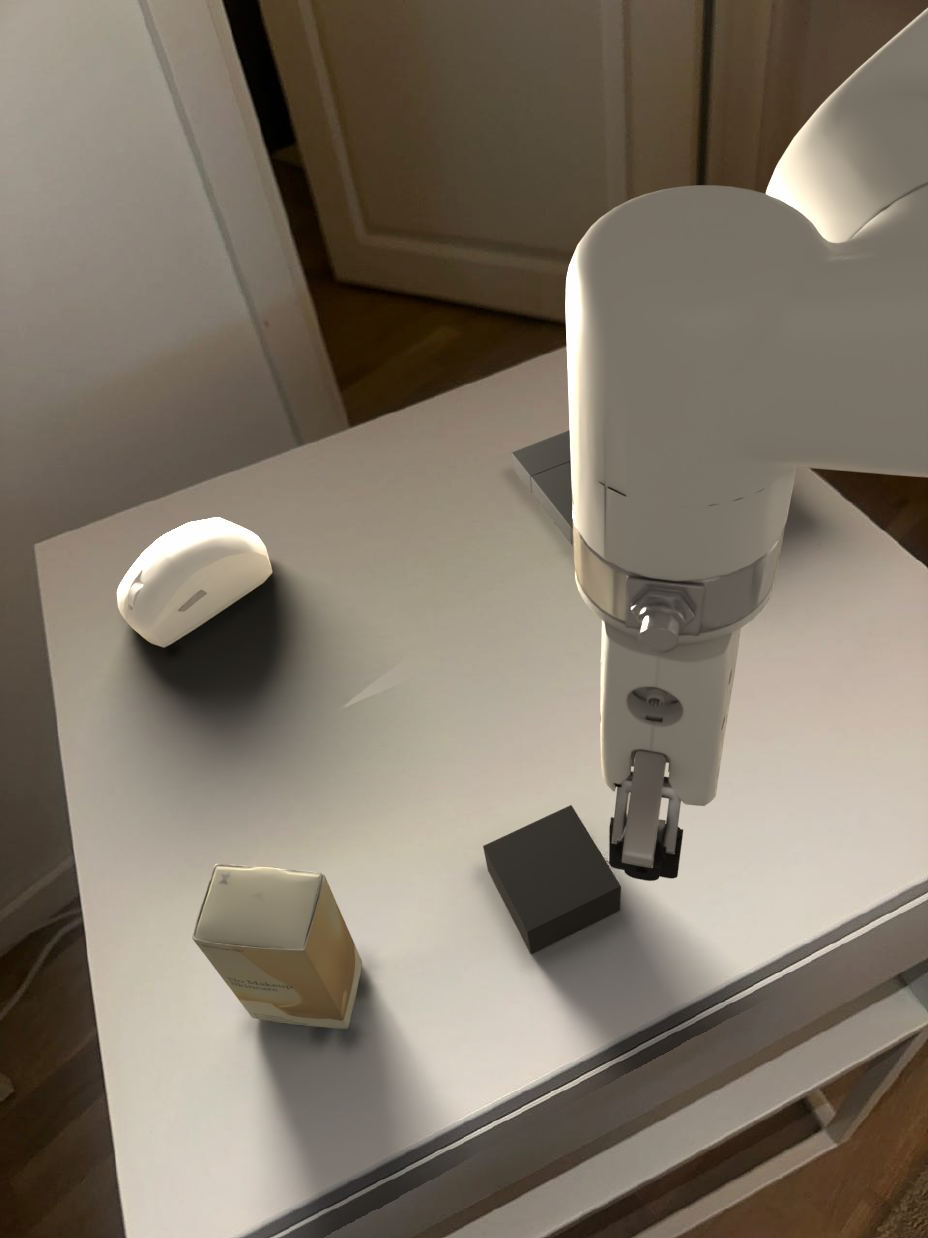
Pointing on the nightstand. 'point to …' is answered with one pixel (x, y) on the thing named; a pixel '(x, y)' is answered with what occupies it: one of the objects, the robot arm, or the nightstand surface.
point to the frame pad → (549, 478)
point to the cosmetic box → (280, 944)
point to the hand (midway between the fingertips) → (656, 780)
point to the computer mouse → (191, 578)
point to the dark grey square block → (552, 878)
